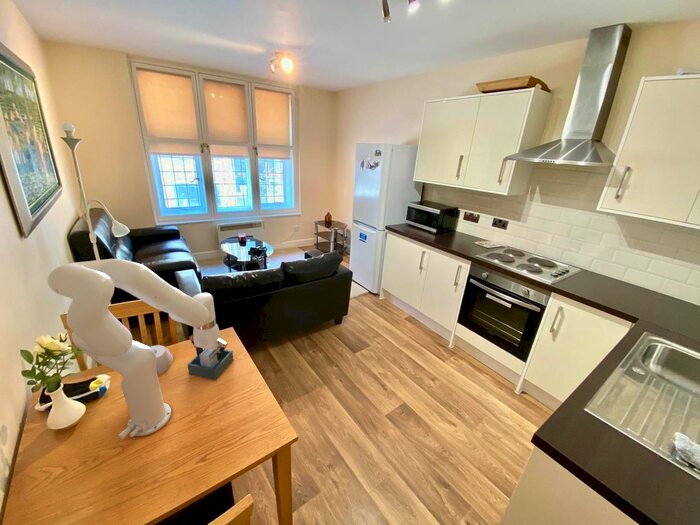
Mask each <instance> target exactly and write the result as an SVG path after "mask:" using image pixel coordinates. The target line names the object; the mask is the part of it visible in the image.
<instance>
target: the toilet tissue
mask: <svg viewBox="0 0 700 525" xmlns="http://www.w3.org/2000/svg"><path fill="white" fill-rule="evenodd" d="M149 347H150V348H151V349H152V350H153V351H154V352H155V354H156V372H157V377H158V376H160V375H162V374H163V373H165V372H166V371H167V370H168V369H169V367H170V366H171V365H172V363H173V361H174V356H173V355H172V353H171V351H170V350H169V348H168V347H166V346H165V345H160V344H155V345H151V346H149Z"/></svg>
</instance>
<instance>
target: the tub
mask: <svg viewBox="0 0 700 525" xmlns="http://www.w3.org/2000/svg"><path fill="white" fill-rule="evenodd" d="M204 350H205V349H204V348H203V351H204ZM233 353H234V352H233V350H230V349H226V348H225V349H224V350H223V357H222V361H221V362H220V363H219V364H218V365H217V366H216V367H215V368H214V369H211V368H207V367H203V366H201V362H200V356H197V355H196V356H195V357H193V359H192V360H191V361H189V362H188V363H187V369H188V375H190V376H191V375H192V376H196V377H200V378H204V379H208V380H213V381H217V379H219V377H220V376H222V374H223V373H224V372H225V371H226V369H227V368H228V367H229V366H230V365H231V364H232V362H234V354H233Z"/></svg>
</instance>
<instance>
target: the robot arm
mask: <svg viewBox="0 0 700 525" xmlns="http://www.w3.org/2000/svg"><path fill="white" fill-rule="evenodd" d="M47 283H48V284H47V285H48V287H49V289H51V291H53V292H54V293H56V294H59V296H63V297H65V298H69V299H72V301H71V302H70V305H69V307H68V310H67V314H66V325H67V327H68V328H69V329H70V330H71V331H72V332H71V341H72V343H73V345H75V347H76V348H78V349H79V350H80V351H81V352H83V353H85V354H86V355H87V356H88V357H90V358H91V359H92V360H93V361H95V362H96V363H98V364H99V365H102V366H104V367H106V368H107V369H111V370H113V371H114V372H117V373H119V374H120V375H121V377H122V381H121V390H122V394H123V397H124V399H125V400H124V401H125V403H126V407H127V409H128V413H129V417H130V418H129V419H128V420H127V425H126V428H125V429H124V430H122V431H121V432H120V433H119V434H118V438H119V439H120V440H124V439H125V438H126V437H127V436H129V437H130V438H134V436H135V437H143V436H147V435H151V434H154V433H155V432H157V431H158V430H160V429H162V428H163V427H164V426H165V425H166V424H168V421H170V418H171V416H172V409H171V407H170V405H169V404H168V403H166V402H164V398H163V394H162V390H161V384H160V381H159V377H158V376H157V372H156V354H155V352H154V351H153V350H152V349H151V348H150V346H148V345H146V344H145V343H144V344H143V343H142V342H139V341H137V340H136V341H135V340H133V335H132V333H131V331H130V330H129V329H128V327H127V326H125V325H124V324H122V322H121V321H119V319H117V318H116V317H115V316H114V315H113V313H112V312H111V310H110V309H109V305H110V303H111V301H112V298H113V296H114V292H115V288H118V289H120V290H123V291H124V292H126V293H128V294H130V295H132V296H133V297H136V298H137V299H139V300H141V301H142V302H143V303H145V304H147V306H150V307H152V308H154V309H157V310H159V311H161V312H164V313H167V314H168V316H169V318H170V319H171V320H173V321H175V322H178V323H180V324H183V325H187V326H190V327H192V328H193V332H192V335H190V336H189V337H188V339H189V340H190V342H191V345H193V348H194V349H195V351H196V356H199V355H200V354H201V353H202V352H203V349H209V350H216V351H217V360H218V361H219V360H220V359H221V358H222V357H223V350H224V349H225V350H226V348H227V347H228V345H229V343H228V342H226V341H225V340H223V339H222V336H221V335H222V334H221V332H220V328H219V325H218V324H217V319H216V311H215V302H214V296H213V295H212V294H210V293H208V292H200V293H197V294H195V295H194V296H190V295H188V294H186V293H184V292H183V291H181V290H180V289H179V288H177V287H174V286H173V285H171V284H170V283H168V282H167V281H165V280H164V279H163V278H161V277H160V276H159V275H157V274H156V273H155V272H153V271H152V270H151V269H150V268H148V267H147V266H146V265H143V264H141V263H139V262H135V261H131V260H128V259H127V260H126V259H123V258H108V259H107V258H105V259H96V260H89V261H78V262H70V263H64V264H62V265H59V266H57V267H56V268H54V269H53V270H52V271H51V272H50V273H49V275H48V277H47ZM218 346H219V347H220V349H219V348H218Z"/></svg>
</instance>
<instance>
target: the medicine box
mask: <svg viewBox="0 0 700 525" xmlns="http://www.w3.org/2000/svg"><path fill="white" fill-rule="evenodd" d="M218 348H219V349H220V347H219V346H218ZM199 356H200V362H201V366H203V367H207V368H211V369H214V368H215V367H216V366H217V365H218V364H219V363H220V362H221V361H222V358H221V359H220V360H219V361H218V360H217V351H216V350H209V349H205V350H204V351H203V352H202V353H201V354H200V355H199Z"/></svg>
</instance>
